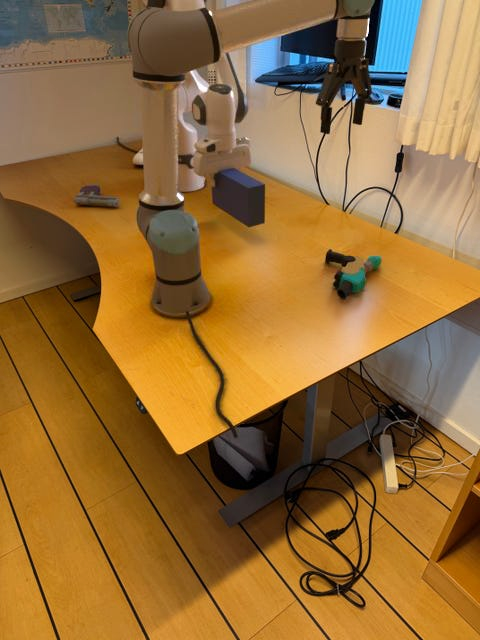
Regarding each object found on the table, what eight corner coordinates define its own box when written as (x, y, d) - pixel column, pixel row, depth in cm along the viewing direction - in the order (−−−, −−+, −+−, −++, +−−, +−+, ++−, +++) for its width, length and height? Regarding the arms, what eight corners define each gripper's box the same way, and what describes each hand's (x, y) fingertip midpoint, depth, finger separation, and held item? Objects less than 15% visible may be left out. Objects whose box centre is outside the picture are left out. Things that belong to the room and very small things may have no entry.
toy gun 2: (303, 279, 125) (359, 293, 119) (335, 240, 143) (384, 251, 138) (302, 294, 128) (356, 308, 122) (333, 254, 146) (382, 265, 140)
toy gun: (131, 195, 187) (116, 210, 175) (87, 192, 190) (69, 207, 178) (130, 185, 185) (114, 200, 173) (85, 182, 188) (67, 197, 176)
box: (264, 223, 151) (265, 184, 144) (248, 227, 148) (248, 188, 141) (227, 199, 167) (225, 163, 160) (212, 203, 165) (210, 167, 158)
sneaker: (127, 168, 213) (123, 140, 206) (154, 149, 235) (151, 124, 228) (148, 170, 211) (144, 142, 204) (174, 151, 233) (171, 125, 226)
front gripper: (369, 34, 126) (359, 118, 139) (305, 41, 113) (300, 134, 126) (393, 35, 122) (380, 123, 134) (329, 44, 109) (321, 140, 121)
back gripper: (244, 134, 158) (245, 175, 166) (189, 144, 149) (192, 187, 157) (255, 138, 154) (254, 180, 162) (198, 149, 145) (201, 192, 153)
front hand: (341, 128), depth 130 cm, fingers open, 13 cm apart
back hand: (223, 183), depth 159 cm, fingers closed on box, 6 cm apart
